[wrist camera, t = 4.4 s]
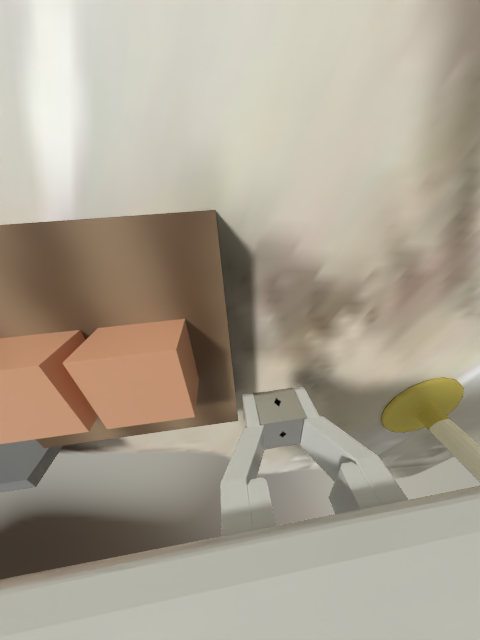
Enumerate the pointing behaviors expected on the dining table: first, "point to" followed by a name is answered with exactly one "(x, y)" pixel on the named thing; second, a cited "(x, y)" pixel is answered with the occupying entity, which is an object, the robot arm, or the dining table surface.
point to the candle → (434, 418)
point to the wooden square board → (123, 295)
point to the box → (24, 464)
